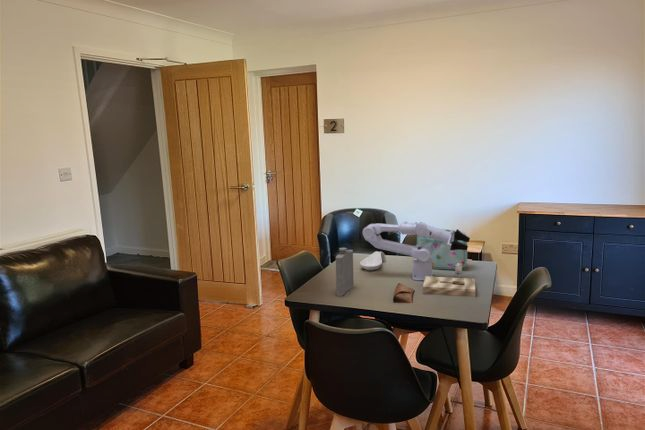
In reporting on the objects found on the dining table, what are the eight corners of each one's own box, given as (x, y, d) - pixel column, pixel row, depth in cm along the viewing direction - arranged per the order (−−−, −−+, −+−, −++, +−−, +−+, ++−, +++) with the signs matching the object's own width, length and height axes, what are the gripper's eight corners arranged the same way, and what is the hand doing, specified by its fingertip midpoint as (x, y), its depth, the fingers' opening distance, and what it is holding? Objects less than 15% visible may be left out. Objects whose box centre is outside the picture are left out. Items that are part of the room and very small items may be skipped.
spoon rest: (377, 273, 235) (377, 259, 234) (356, 271, 240) (356, 258, 239) (391, 262, 256) (391, 249, 255) (372, 260, 261) (371, 248, 260)
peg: (454, 283, 214) (454, 264, 213) (454, 280, 218) (454, 262, 216) (462, 283, 213) (463, 264, 211) (462, 281, 217) (463, 262, 215)
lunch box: (413, 268, 242) (413, 228, 238) (417, 263, 251) (417, 225, 248) (465, 272, 231) (466, 230, 228) (467, 266, 241) (468, 227, 237)
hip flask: (342, 296, 200) (341, 252, 197) (333, 295, 202) (332, 251, 199) (354, 286, 214) (353, 244, 211) (346, 285, 216) (345, 244, 213)
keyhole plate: (422, 293, 201) (422, 286, 200) (425, 282, 216) (425, 275, 215) (475, 296, 194) (475, 289, 194) (474, 285, 210) (474, 278, 209)
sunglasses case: (413, 303, 189) (405, 289, 188) (398, 311, 191) (390, 297, 190) (415, 290, 206) (407, 277, 206) (401, 297, 208) (394, 284, 208)
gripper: (439, 235, 209) (468, 244, 205) (444, 221, 221) (472, 229, 217) (435, 247, 213) (464, 257, 209) (440, 233, 225) (468, 241, 221)
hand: (468, 244), depth 213 cm, fingers open, 7 cm apart
